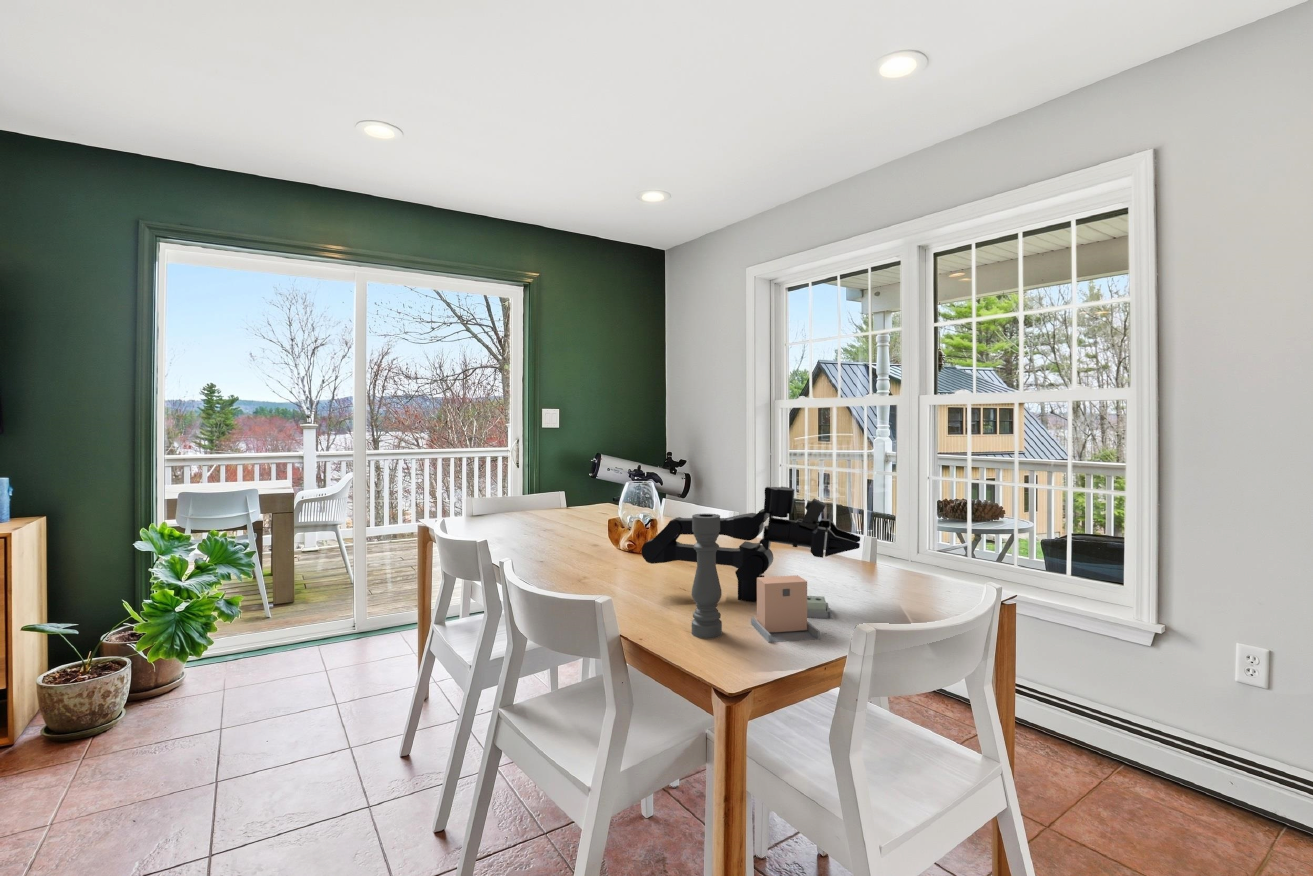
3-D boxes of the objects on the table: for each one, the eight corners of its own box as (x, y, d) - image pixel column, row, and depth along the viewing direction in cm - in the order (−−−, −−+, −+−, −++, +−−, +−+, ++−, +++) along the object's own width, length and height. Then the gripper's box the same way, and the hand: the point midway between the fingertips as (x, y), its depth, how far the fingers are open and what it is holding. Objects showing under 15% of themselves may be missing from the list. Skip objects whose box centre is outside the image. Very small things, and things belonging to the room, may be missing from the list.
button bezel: (795, 621, 139) (795, 611, 139) (794, 610, 147) (794, 600, 147) (833, 623, 138) (833, 612, 138) (830, 612, 146) (830, 602, 146)
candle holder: (703, 630, 134) (702, 512, 133) (728, 637, 130) (727, 515, 129) (685, 639, 130) (684, 516, 129) (710, 645, 126) (710, 519, 125)
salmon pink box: (756, 624, 134) (756, 577, 133) (797, 622, 135) (797, 575, 135) (765, 633, 129) (765, 584, 128) (807, 630, 130) (807, 581, 130)
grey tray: (751, 628, 135) (751, 617, 135) (798, 625, 137) (798, 614, 137) (768, 647, 124) (768, 634, 124) (820, 643, 126) (820, 631, 126)
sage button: (801, 611, 141) (801, 601, 140) (800, 604, 146) (800, 595, 146) (826, 612, 140) (826, 602, 139) (824, 605, 145) (824, 596, 145)
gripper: (789, 502, 141) (863, 511, 136) (798, 494, 159) (863, 502, 154) (784, 552, 141) (857, 563, 137) (793, 539, 159) (859, 548, 154)
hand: (859, 542), depth 145 cm, fingers open, 9 cm apart
